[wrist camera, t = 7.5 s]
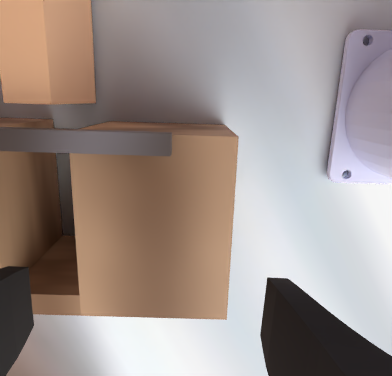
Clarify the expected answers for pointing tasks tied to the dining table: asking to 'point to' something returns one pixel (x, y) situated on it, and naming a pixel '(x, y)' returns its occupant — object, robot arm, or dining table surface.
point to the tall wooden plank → (47, 52)
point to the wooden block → (121, 217)
